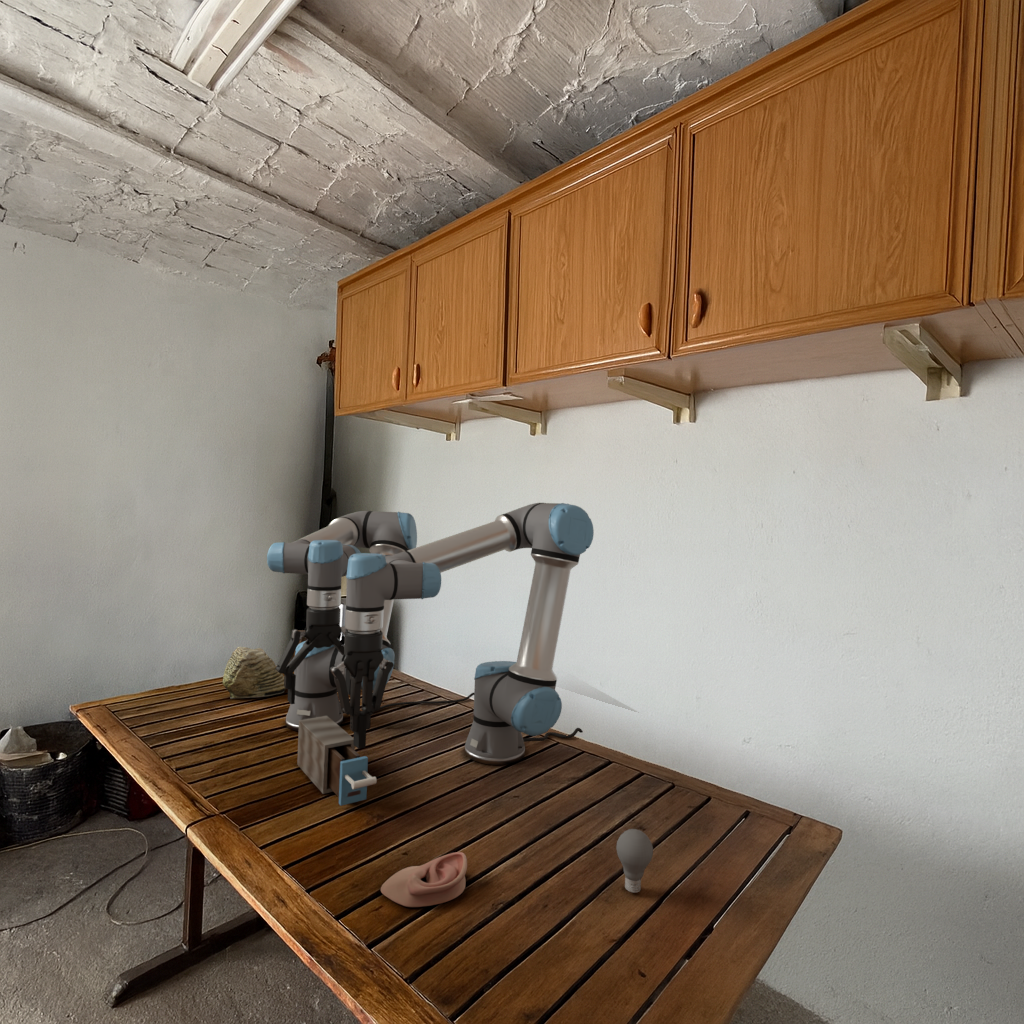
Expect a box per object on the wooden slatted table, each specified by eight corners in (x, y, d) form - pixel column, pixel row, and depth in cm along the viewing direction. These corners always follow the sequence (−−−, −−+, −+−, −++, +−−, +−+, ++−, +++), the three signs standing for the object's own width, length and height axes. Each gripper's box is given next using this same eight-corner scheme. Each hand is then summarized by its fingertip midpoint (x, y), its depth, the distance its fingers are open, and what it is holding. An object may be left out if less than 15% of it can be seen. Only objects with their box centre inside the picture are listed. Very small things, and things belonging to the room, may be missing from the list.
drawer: (377, 810, 127) (379, 767, 127) (351, 817, 124) (352, 773, 124) (337, 770, 145) (339, 732, 145) (313, 775, 141) (315, 737, 141)
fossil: (218, 695, 195) (220, 647, 195) (278, 685, 208) (279, 640, 207) (228, 703, 189) (230, 653, 188) (289, 692, 201) (290, 645, 201)
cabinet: (353, 786, 139) (355, 739, 139) (322, 794, 135) (324, 745, 135) (325, 758, 153) (326, 715, 153) (297, 764, 149) (298, 720, 149)
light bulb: (610, 879, 108) (613, 822, 108) (644, 879, 109) (647, 822, 109) (619, 902, 102) (622, 840, 102) (655, 901, 103) (658, 840, 103)
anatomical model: (373, 876, 100) (400, 838, 111) (372, 901, 100) (399, 861, 111) (454, 890, 97) (473, 850, 108) (452, 915, 97) (472, 873, 108)
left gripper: (273, 613, 136) (269, 711, 137) (380, 605, 151) (377, 693, 152) (263, 608, 142) (260, 701, 143) (367, 600, 157) (364, 685, 158)
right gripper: (339, 636, 121) (334, 759, 121) (401, 630, 129) (396, 746, 129) (325, 629, 127) (321, 745, 127) (385, 624, 135) (381, 734, 135)
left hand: (320, 697), depth 147 cm, fingers open, 13 cm apart
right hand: (359, 745), depth 128 cm, fingers closed
